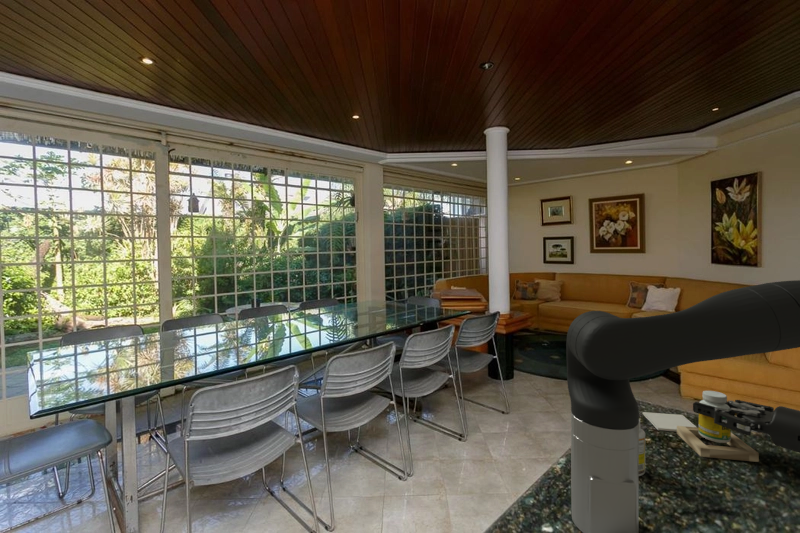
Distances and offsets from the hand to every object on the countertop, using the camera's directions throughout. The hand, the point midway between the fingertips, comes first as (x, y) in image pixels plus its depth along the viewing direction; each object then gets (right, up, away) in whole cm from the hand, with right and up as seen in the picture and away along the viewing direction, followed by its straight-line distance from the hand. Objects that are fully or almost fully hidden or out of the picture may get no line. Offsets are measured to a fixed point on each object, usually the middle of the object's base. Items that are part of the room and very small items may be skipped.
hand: (700, 403), depth 82 cm
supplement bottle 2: (+1, -7, -2) cm, 7 cm away
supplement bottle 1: (-22, -9, -10) cm, 26 cm away
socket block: (+1, -9, -2) cm, 9 cm away
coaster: (0, -8, +9) cm, 12 cm away
